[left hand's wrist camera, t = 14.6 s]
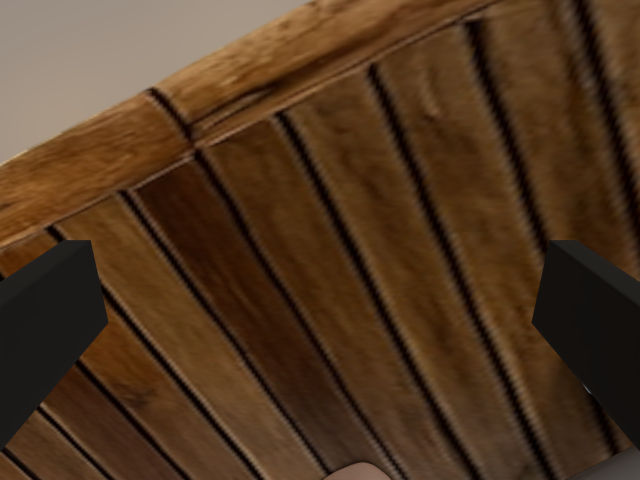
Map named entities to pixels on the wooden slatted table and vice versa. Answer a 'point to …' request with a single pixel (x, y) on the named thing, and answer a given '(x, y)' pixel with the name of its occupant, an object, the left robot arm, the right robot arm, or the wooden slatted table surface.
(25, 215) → the wooden slatted table surface
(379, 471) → the anatomical model
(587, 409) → the wooden slatted table surface
